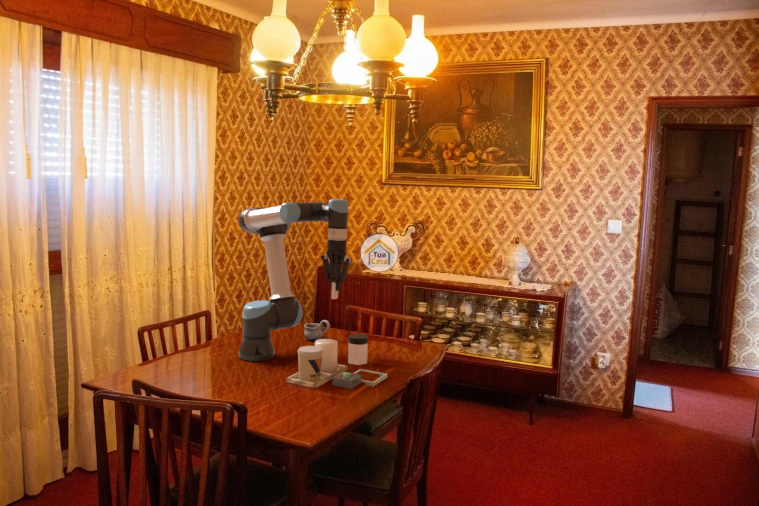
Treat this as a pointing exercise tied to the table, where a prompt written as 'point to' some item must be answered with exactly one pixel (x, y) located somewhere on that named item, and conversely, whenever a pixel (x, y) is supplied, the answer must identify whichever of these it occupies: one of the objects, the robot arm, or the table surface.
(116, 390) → the table surface
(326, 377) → the tray
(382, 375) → the beige square frame
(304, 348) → the coffee cup
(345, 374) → the button
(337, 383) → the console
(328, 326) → the mug
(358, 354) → the jar
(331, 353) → the billet
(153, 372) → the table surface
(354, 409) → the table surface
